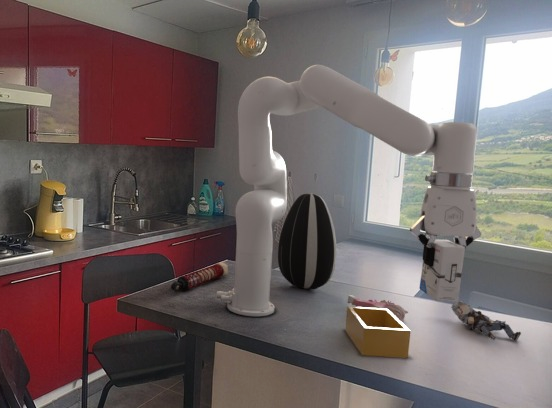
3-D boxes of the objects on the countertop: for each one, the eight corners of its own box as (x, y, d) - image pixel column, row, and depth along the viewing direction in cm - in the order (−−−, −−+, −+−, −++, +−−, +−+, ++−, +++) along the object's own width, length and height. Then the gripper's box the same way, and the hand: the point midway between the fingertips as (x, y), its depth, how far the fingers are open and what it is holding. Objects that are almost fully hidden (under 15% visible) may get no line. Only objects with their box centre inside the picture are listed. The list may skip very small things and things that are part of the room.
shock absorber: (181, 285, 127) (235, 265, 152) (169, 275, 129) (224, 257, 154) (175, 298, 129) (230, 276, 154) (164, 289, 131) (219, 269, 156)
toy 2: (486, 337, 104) (437, 306, 118) (508, 358, 109) (459, 326, 123) (505, 314, 104) (454, 286, 118) (527, 336, 109) (475, 306, 122)
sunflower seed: (337, 290, 143) (345, 195, 139) (327, 297, 134) (336, 197, 131) (282, 278, 152) (288, 190, 149) (269, 285, 144) (276, 191, 141)
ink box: (418, 288, 103) (423, 237, 102) (440, 290, 103) (446, 239, 101) (435, 301, 94) (441, 245, 93) (459, 302, 94) (466, 247, 93)
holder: (361, 355, 96) (364, 327, 95) (345, 330, 109) (347, 306, 108) (407, 358, 95) (410, 330, 95) (385, 332, 109) (387, 308, 108)
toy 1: (340, 313, 122) (396, 337, 113) (344, 294, 120) (401, 316, 111) (353, 302, 128) (407, 323, 119) (356, 283, 126) (412, 304, 117)
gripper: (417, 180, 92) (408, 267, 94) (502, 185, 92) (491, 272, 94) (403, 178, 100) (395, 259, 102) (481, 182, 99) (472, 263, 101)
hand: (441, 264), depth 98 cm, fingers closed on ink box, 5 cm apart
